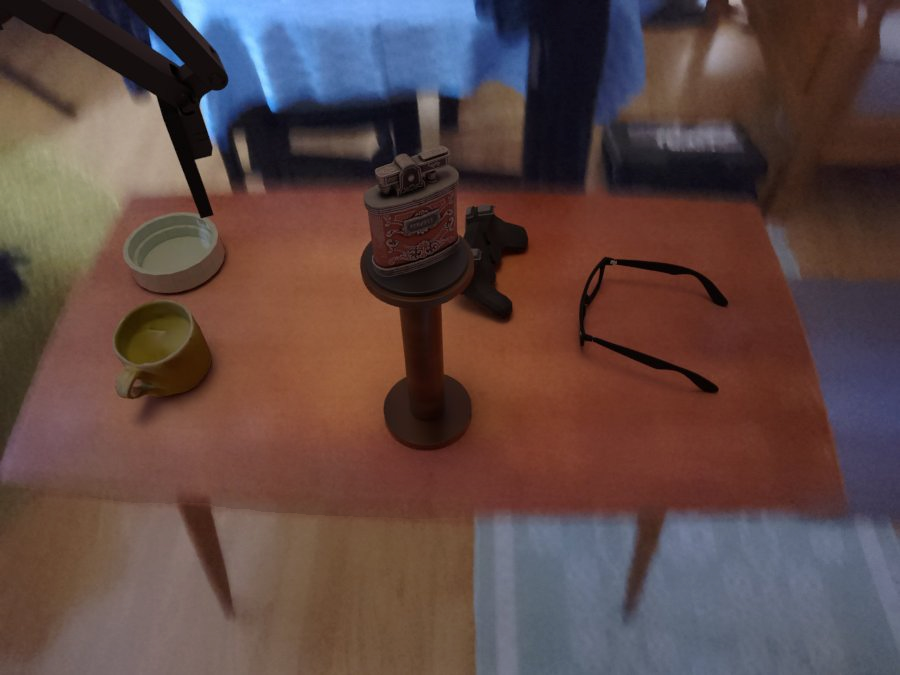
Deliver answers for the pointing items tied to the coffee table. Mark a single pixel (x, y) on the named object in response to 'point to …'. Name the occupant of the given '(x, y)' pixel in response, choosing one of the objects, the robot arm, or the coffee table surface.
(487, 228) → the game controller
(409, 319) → the stand
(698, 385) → the glasses
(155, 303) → the mug
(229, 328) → the coffee table surface
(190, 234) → the bowl
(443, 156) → the lighter
